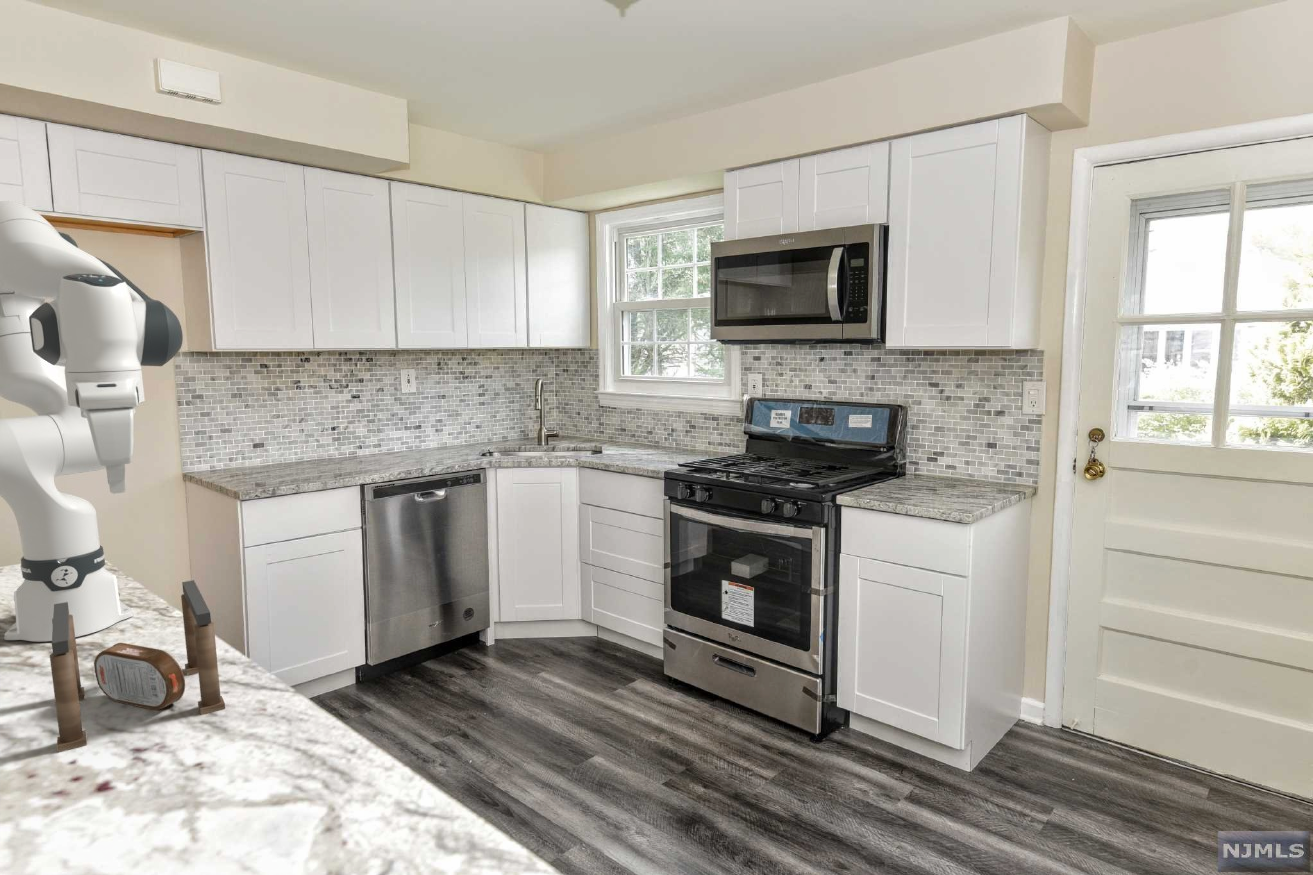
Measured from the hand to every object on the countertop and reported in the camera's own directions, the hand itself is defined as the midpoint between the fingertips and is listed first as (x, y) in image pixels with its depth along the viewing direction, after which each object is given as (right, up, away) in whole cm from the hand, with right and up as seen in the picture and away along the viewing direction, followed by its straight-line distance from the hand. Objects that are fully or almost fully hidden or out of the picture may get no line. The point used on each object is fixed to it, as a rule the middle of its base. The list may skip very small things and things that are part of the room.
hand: (116, 488), depth 111 cm
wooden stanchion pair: (+2, -31, +2) cm, 31 cm away
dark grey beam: (+8, -18, +5) cm, 20 cm away
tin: (+2, -32, +2) cm, 32 cm away
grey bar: (-4, -19, -5) cm, 20 cm away
